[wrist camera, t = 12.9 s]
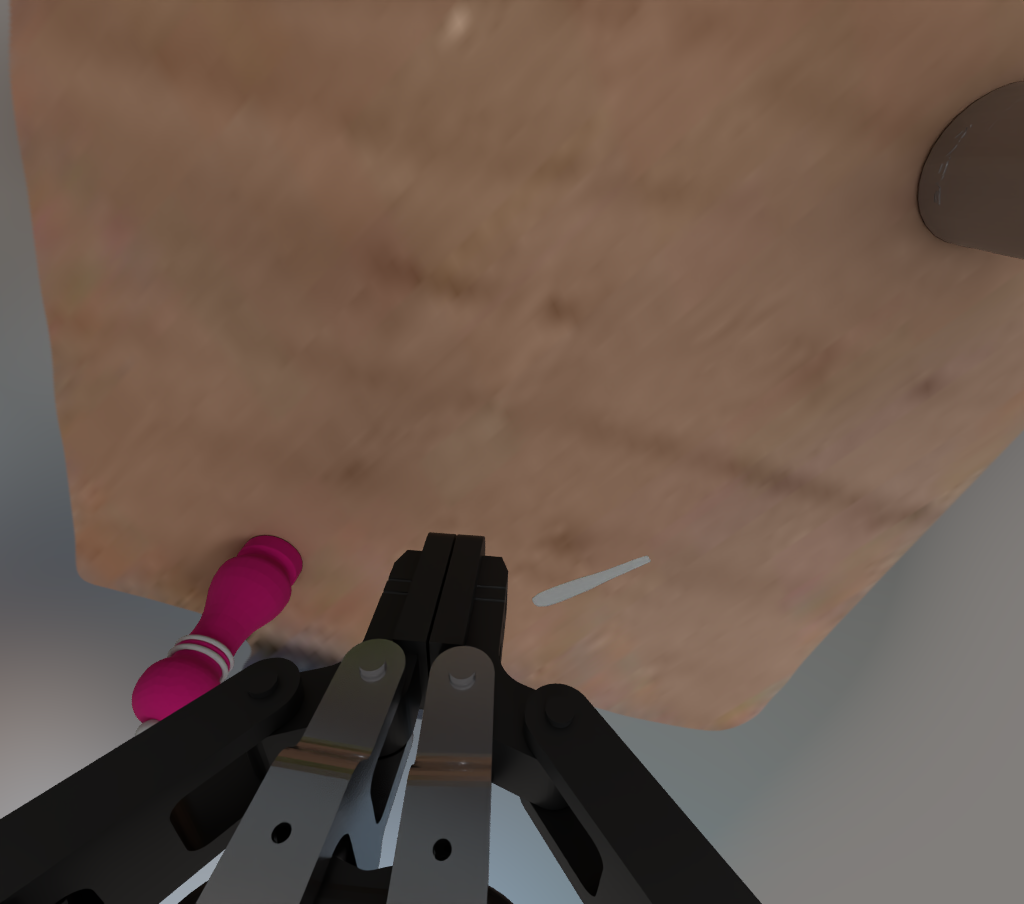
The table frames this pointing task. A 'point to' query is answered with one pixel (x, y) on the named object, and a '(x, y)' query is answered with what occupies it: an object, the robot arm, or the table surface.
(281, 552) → the pepper mill
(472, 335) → the table surface
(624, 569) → the butter knife
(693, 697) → the table surface
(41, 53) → the table surface
